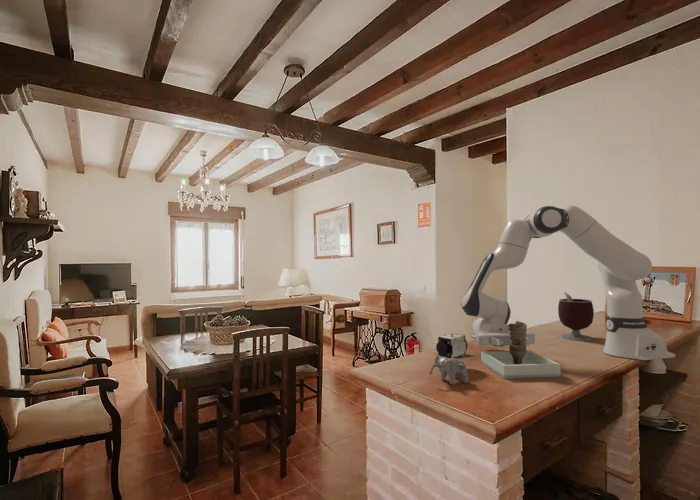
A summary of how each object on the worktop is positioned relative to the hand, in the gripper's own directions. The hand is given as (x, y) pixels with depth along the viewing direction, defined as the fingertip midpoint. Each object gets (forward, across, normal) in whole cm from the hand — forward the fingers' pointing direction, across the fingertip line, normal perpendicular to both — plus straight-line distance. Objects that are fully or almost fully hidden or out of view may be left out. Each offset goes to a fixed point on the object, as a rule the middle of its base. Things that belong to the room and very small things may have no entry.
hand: (514, 342), depth 130 cm
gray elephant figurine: (+13, -27, +9) cm, 31 cm away
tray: (+2, 0, +8) cm, 9 cm away
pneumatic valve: (-1, -21, +9) cm, 23 cm away
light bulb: (+2, 0, +8) cm, 8 cm away
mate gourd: (-43, +49, +8) cm, 66 cm away
